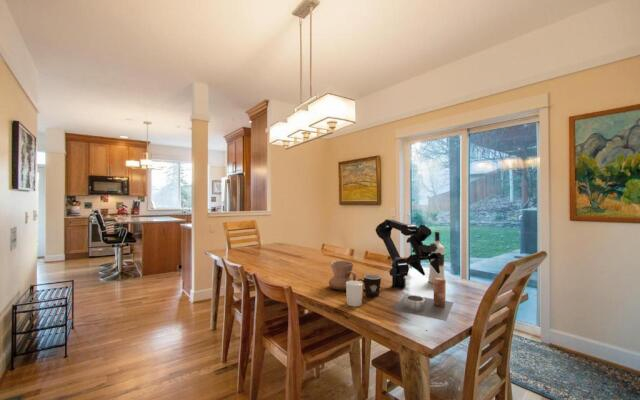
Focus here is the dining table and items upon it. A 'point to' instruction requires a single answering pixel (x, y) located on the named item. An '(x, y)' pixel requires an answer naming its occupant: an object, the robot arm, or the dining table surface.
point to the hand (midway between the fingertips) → (431, 274)
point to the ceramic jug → (341, 274)
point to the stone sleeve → (415, 303)
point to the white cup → (354, 293)
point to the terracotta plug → (439, 292)
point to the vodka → (441, 250)
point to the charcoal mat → (427, 309)
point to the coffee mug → (371, 285)
